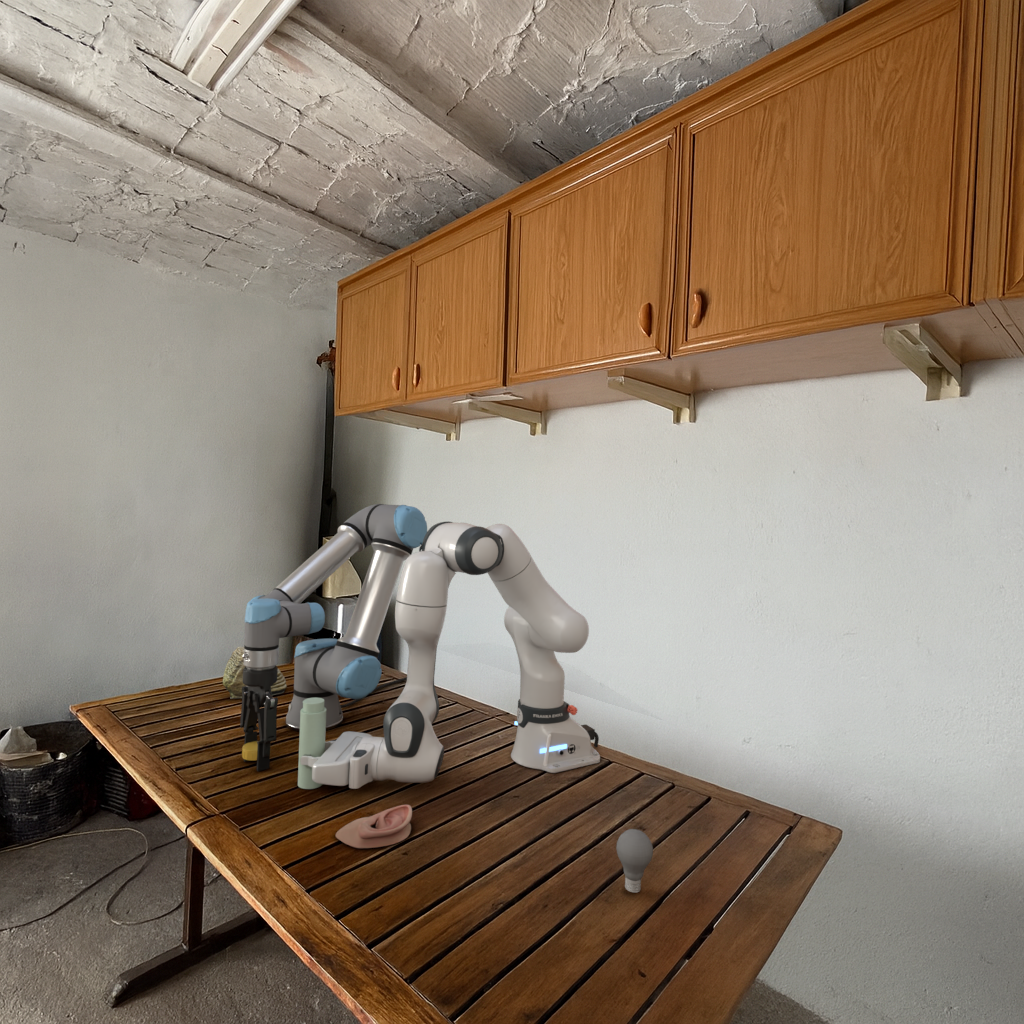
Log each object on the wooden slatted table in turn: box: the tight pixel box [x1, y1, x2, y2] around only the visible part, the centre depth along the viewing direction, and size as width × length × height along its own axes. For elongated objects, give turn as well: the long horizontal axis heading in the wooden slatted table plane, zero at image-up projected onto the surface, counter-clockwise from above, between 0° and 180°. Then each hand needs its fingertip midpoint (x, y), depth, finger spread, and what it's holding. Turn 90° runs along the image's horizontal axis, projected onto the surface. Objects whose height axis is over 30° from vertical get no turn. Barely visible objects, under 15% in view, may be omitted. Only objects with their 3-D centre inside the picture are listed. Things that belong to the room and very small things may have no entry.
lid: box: [241, 740, 272, 762], centre depth 148 cm, size 6×6×2 cm
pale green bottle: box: [297, 698, 327, 790], centre depth 139 cm, size 6×6×18 cm
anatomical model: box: [335, 804, 413, 849], centre depth 120 cm, size 13×4×12 cm
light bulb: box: [615, 828, 654, 894], centre depth 106 cm, size 6×6×10 cm
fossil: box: [222, 646, 288, 699], centre depth 198 cm, size 9×18×15 cm, turn 132°
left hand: (256, 764), depth 148 cm, fingers closed on lid, 6 cm apart
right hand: (307, 753), depth 140 cm, fingers closed on pale green bottle, 5 cm apart
